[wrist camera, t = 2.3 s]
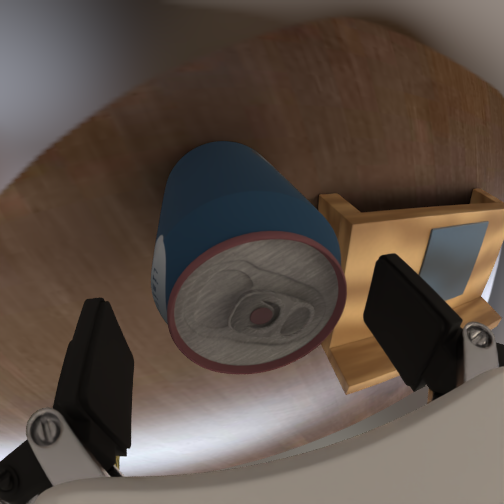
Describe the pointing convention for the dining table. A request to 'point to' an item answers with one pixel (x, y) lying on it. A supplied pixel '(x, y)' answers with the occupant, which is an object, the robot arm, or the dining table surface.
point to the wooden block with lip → (420, 260)
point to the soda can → (243, 263)
